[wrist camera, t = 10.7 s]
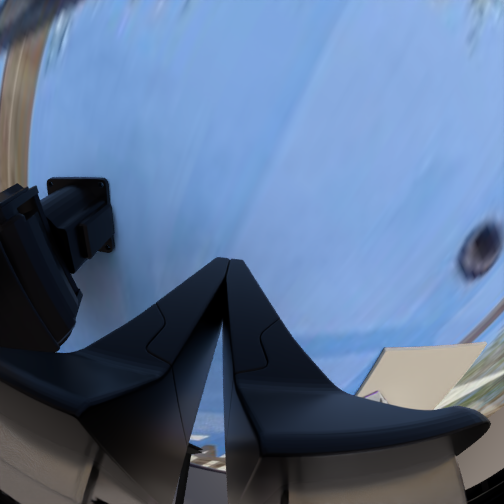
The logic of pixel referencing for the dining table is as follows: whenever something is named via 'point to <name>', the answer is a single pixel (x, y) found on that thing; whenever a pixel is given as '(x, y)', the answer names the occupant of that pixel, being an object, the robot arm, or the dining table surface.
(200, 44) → the dining table surface
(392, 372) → the mat
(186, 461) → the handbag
